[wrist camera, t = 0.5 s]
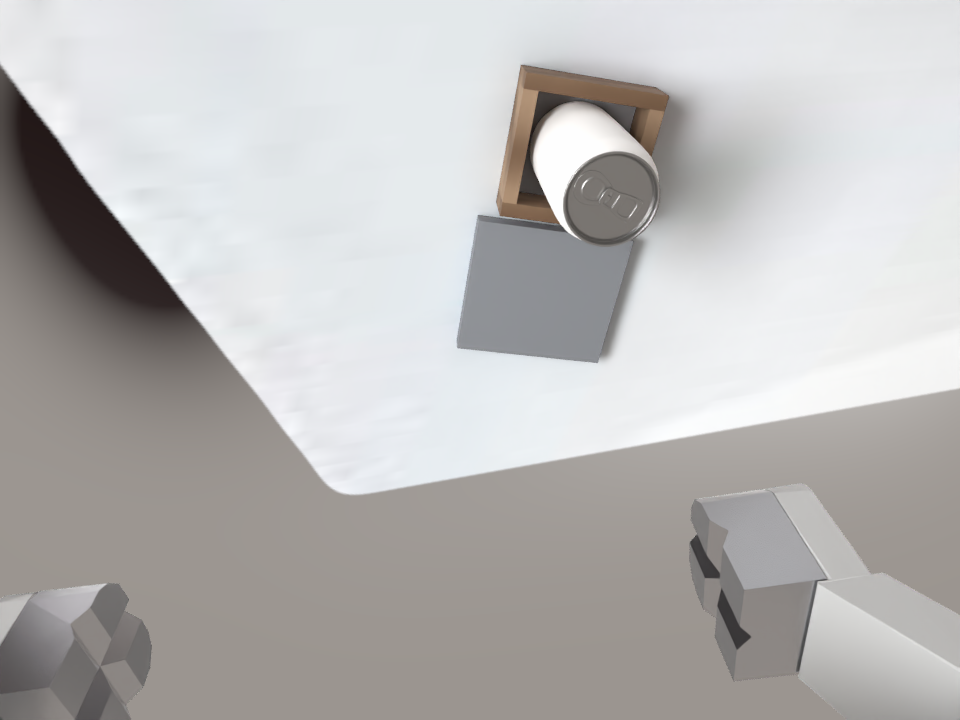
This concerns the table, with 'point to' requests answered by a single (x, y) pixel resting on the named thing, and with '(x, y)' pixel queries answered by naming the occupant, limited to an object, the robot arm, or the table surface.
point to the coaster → (539, 291)
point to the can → (594, 174)
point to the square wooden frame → (538, 79)
